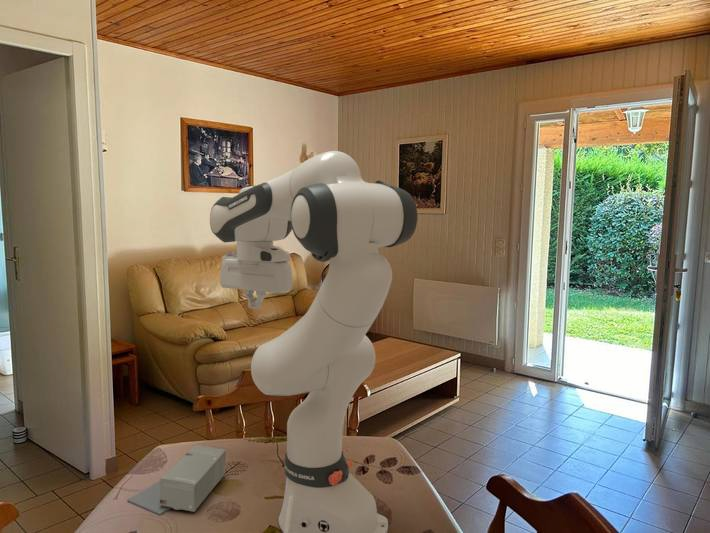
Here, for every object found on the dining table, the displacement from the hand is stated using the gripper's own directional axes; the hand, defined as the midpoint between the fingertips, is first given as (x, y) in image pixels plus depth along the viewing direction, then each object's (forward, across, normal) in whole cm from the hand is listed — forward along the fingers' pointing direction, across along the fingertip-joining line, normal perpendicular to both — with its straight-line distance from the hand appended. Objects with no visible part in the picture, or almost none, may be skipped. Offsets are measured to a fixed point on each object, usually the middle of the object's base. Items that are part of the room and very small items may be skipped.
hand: (255, 308), depth 130 cm
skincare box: (+35, -4, -12) cm, 37 cm away
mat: (+39, -6, -22) cm, 45 cm away
